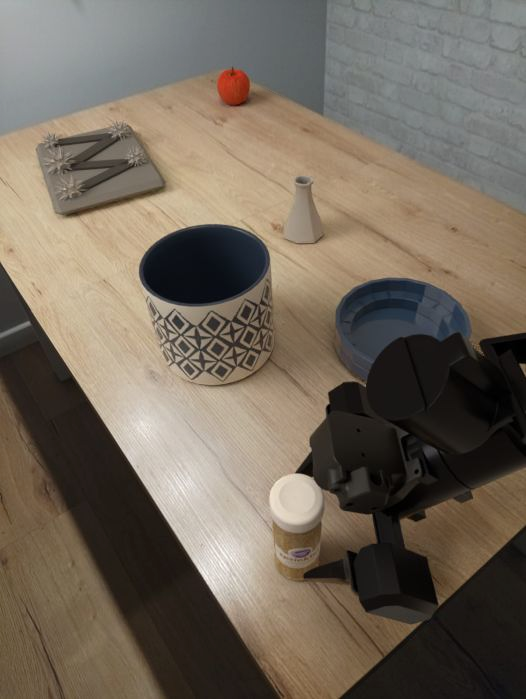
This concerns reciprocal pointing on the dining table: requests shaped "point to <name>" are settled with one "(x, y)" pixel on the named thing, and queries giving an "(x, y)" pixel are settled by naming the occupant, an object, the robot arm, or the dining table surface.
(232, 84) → the apple
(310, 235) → the flask
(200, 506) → the dining table surface
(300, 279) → the dining table surface
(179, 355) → the planter
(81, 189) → the decorative plate
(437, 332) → the bowl
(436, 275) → the dining table surface
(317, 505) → the sprinkles bottle
